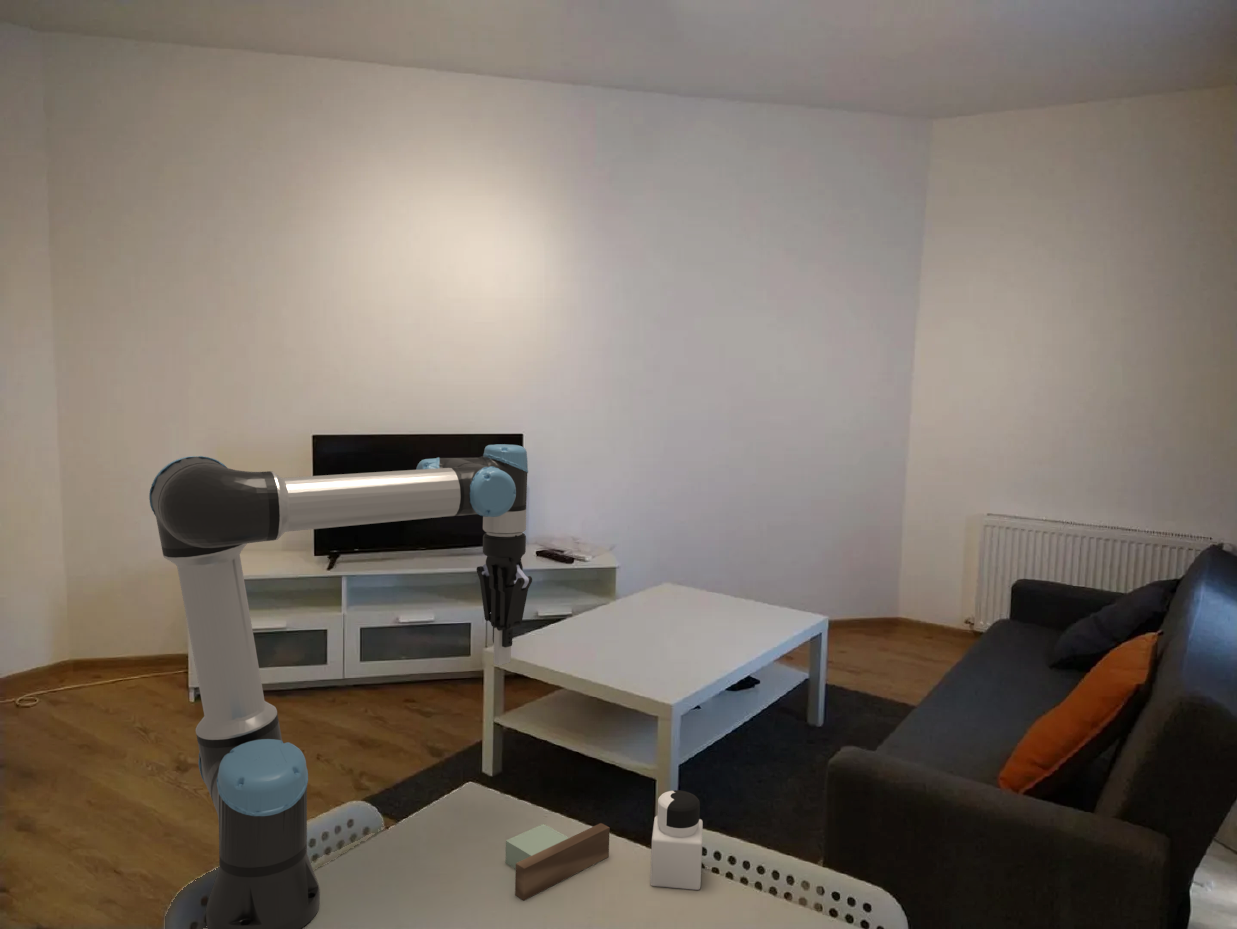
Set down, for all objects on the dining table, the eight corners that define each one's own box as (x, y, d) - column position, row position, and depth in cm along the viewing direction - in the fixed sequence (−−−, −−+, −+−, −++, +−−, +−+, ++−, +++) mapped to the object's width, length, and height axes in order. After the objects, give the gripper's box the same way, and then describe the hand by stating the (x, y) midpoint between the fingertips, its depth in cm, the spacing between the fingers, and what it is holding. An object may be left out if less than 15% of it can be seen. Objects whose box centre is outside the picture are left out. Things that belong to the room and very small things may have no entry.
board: (515, 895, 136) (515, 863, 135) (600, 852, 148) (601, 823, 148) (523, 900, 134) (524, 868, 134) (608, 856, 147) (609, 827, 147)
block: (505, 864, 144) (505, 840, 144) (542, 846, 150) (543, 823, 150) (538, 885, 139) (538, 860, 139) (576, 865, 145) (576, 842, 144)
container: (700, 864, 146) (704, 787, 144) (700, 891, 138) (703, 810, 137) (653, 860, 147) (655, 783, 145) (649, 886, 139) (652, 806, 138)
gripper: (545, 535, 157) (541, 667, 159) (498, 525, 166) (495, 650, 168) (511, 540, 151) (508, 677, 154) (464, 529, 160) (462, 658, 163)
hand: (502, 662), depth 161 cm, fingers closed
